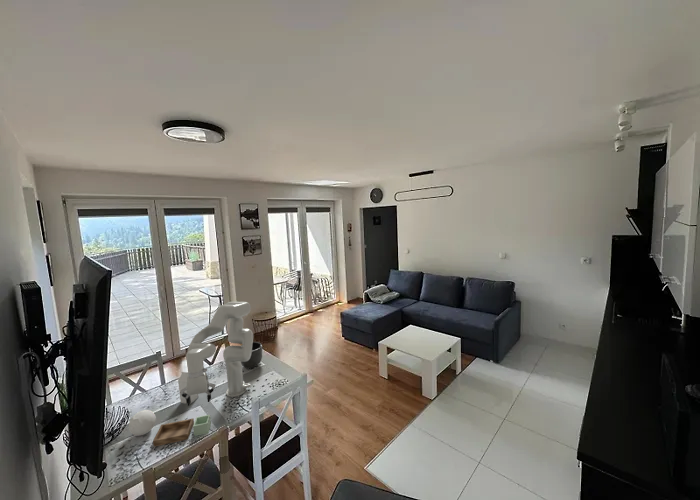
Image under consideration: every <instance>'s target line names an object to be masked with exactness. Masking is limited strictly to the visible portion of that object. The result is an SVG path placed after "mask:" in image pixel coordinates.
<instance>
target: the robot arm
mask: <svg viewBox="0 0 700 500" xmlns="http://www.w3.org/2000/svg"><path fill="white" fill-rule="evenodd" d="M251 310H252V306H251V303H249V302H247V301H228V302H226V303H225V304H221V305H219V307H218V308H217V310H215V313H214V315H213V317H212V319H211V320H210V322H209V324H208V325H207V326H205V327H204V328H201V330H200V331H198V332H197V333H196V334H195V335H194V336H193V338H192V340H191V342H190V344H189V346H188V348H187V352H186V354H185V357H186V366H187V372H188V376H187V386H186V387H185V388H183V389H182V390H180V392H179V395H180V394H181V395H182V396H183V397H184V398H185V399H186V402H187V407H189V406H190V405H191V404H192V403H191V399H190V395H194V394H198V395H199V394H204V393H205V394H206V398H207V402H208V403H210V401H211V400H212V393H213V392H214V390H215V388H216V384H215V383H211V382H209V377H208V375H207V374H208V373H207V372H208V368H205V366H204V361H205V360H207V359H209V358H211V357H213V356H214V355H215V353H216V351H217V346H216V345H215V344H214V343H210V342H204V341H205V340H206V339H208V338H210V337H212V336H215V335H217V334H220V333H222V332H223V331H224V328H225V327H226V324H227V322H228V321H229V327H228V337H227V339H228V340H227V341H228V342H229V343H230V344H232V345H228V346H226V347H225V348H224V350H223V351H222V356H223V361H224V362H225V369H226V370H225V371H226V379H227V390H226V391H225V394H226V397H228V398H237V397H239V396H241V395H244V393H246V391H247V389H249V388H251V387H252V385H251V383H250V382H247V383H245V381H244V375H243V366H242V364H241V362H246V361H248V360H249V359H250V357H251V353H252V344H253V342H254V333H253V330H251V329H250V328H244V318H243V317H246V316H248V315H249V314H250V312H251ZM233 344H238V345H233ZM239 344H240V345H239ZM241 344H242V345H243V346H241ZM209 387H210V388H211V389H210V388H209ZM186 390H187V394H186V393H184V391H186ZM190 403H191V404H190Z"/></svg>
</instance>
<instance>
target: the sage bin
mask: <svg viewBox="0 0 700 500" xmlns="http://www.w3.org/2000/svg"><path fill="white" fill-rule="evenodd" d="M211 426H212V418H211V415H210V414H206V415H201V416H196V417H195V419H194V425H193V428H192V431H193V436H194V437H196V436H201V435H206V434H209V432H210V430H211Z"/></svg>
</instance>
